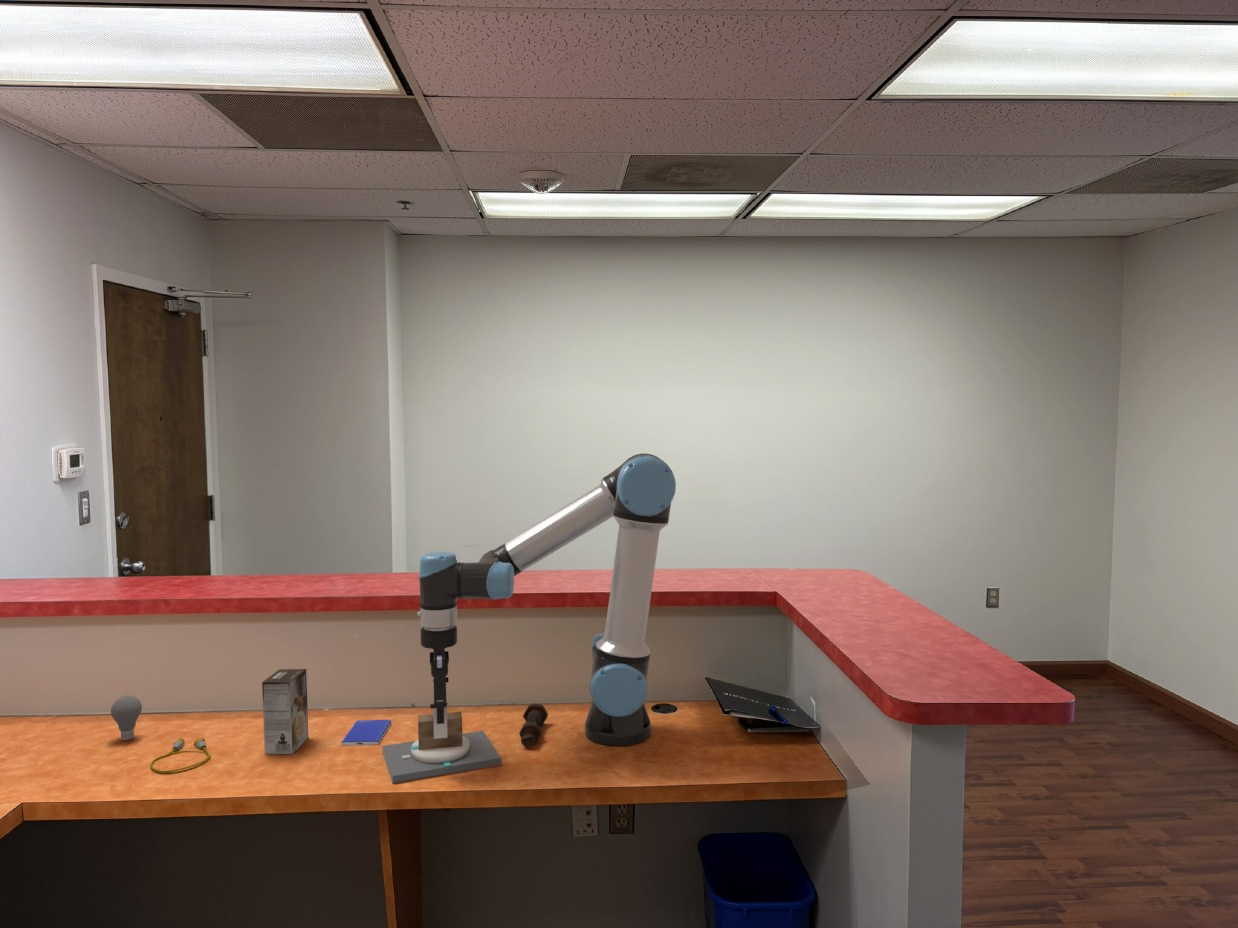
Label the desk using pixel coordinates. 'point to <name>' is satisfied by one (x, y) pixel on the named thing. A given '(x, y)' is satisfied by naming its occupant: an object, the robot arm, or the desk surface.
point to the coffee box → (285, 711)
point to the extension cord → (178, 745)
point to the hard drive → (366, 732)
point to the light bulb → (126, 715)
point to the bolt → (532, 724)
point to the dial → (440, 740)
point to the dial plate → (411, 769)
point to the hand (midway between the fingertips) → (440, 725)
